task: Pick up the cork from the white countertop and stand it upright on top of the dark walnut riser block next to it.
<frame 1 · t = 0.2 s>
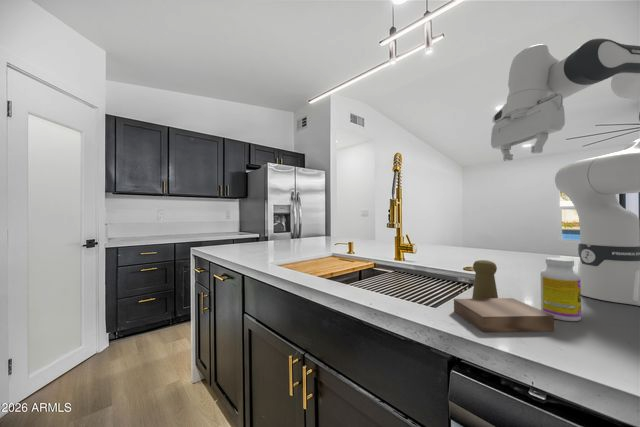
hand: (521, 157, 72), 39 cm above the counter, tool pointing down, fingers open, 8 cm apart
supplement bottle: (560, 317, 59), on the counter
walnut riser: (499, 320, 57), on the counter
cork: (485, 304, 68), on the counter
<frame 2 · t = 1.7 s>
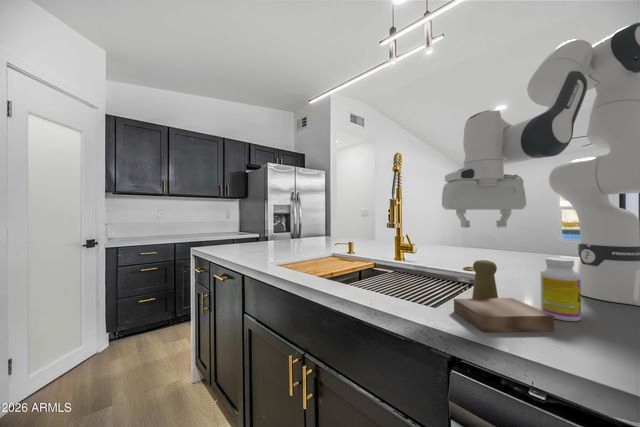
hand: (483, 227, 68), 20 cm above the counter, tool pointing down, fingers open, 8 cm apart
nothing on the counter moved.
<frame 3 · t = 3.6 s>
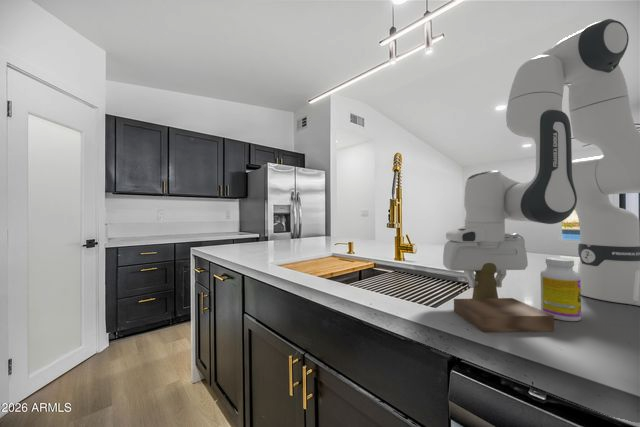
hand: (485, 287, 68), 4 cm above the counter, tool pointing down, fingers closed on cork, 5 cm apart
cork: (485, 304, 68), on the counter, touching gripper
everything else where it was.
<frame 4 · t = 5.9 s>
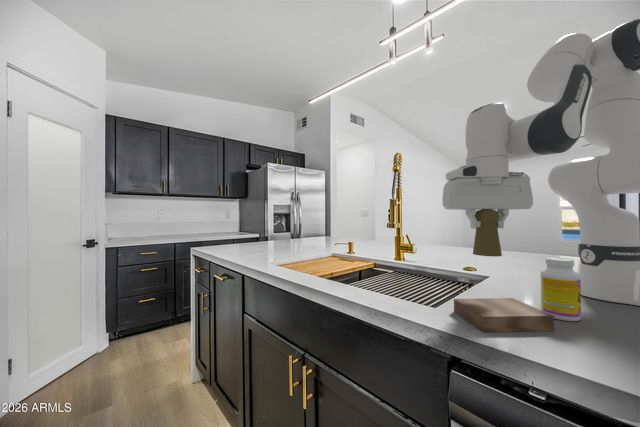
hand: (487, 228, 64), 20 cm above the counter, tool pointing down, fingers closed on cork, 4 cm apart
cork: (487, 255, 64), point 13 cm above the counter, touching gripper
everything else where it was.
when the fingers open (10 cm above the counter, at t = 8.1 s): cork stays where it is, resting on walnut riser.
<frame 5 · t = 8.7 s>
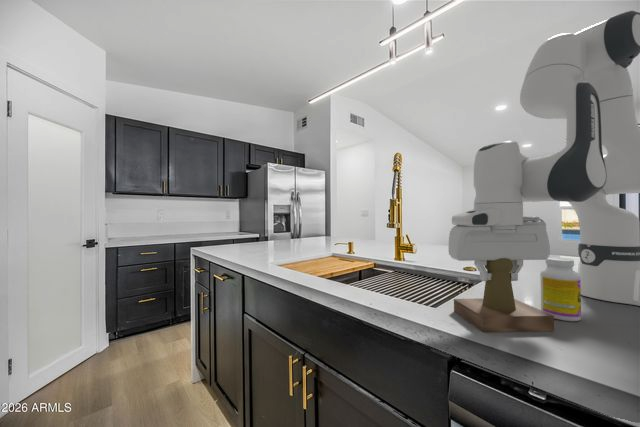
hand: (498, 280, 57), 9 cm above the counter, tool pointing down, fingers open, 4 cm apart
cork: (498, 307, 57), point 3 cm above the counter, touching gripper, walnut riser
everything else where it was.
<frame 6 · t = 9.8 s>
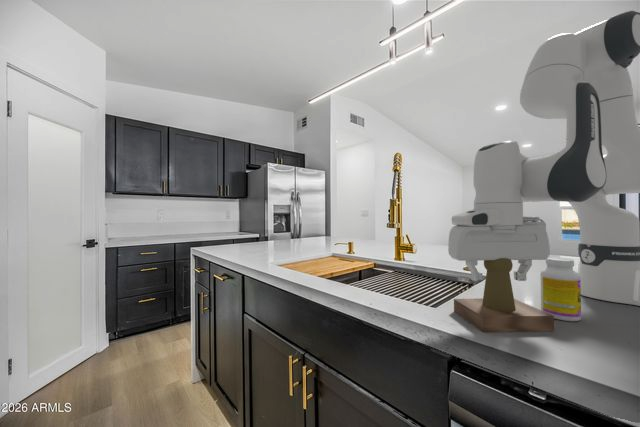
hand: (498, 280, 57), 9 cm above the counter, tool pointing down, fingers open, 8 cm apart
cork: (498, 307, 57), point 3 cm above the counter, touching walnut riser
everything else where it was.
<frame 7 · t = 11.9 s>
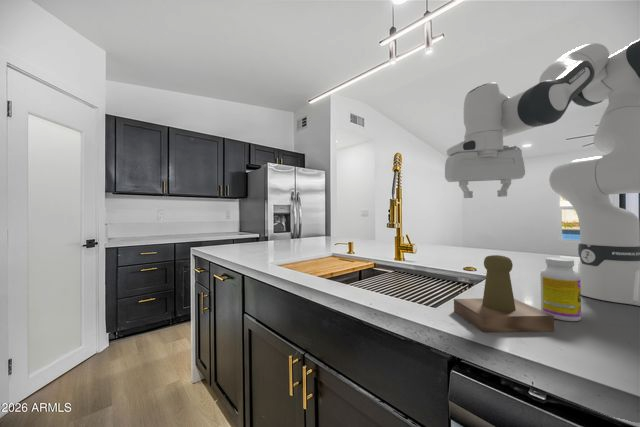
hand: (485, 197, 71), 28 cm above the counter, tool pointing down, fingers open, 8 cm apart
nothing on the counter moved.
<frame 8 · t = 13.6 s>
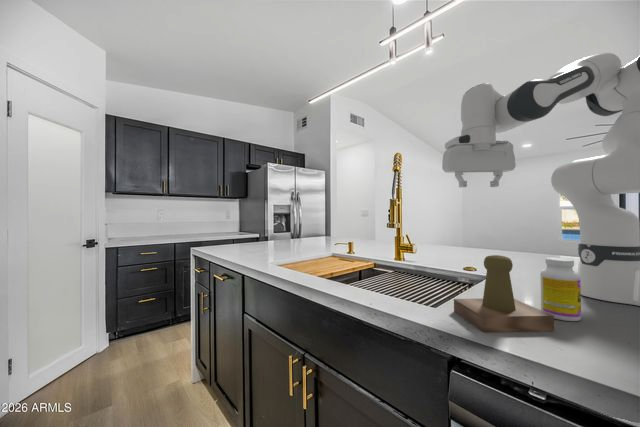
hand: (478, 187, 78), 31 cm above the counter, tool pointing down, fingers open, 8 cm apart
nothing on the counter moved.
at the end: cork inside the target area on the walnut riser (0.1 cm from its centre), point 2.8 cm above the walnut riser's base; cork tilted 0°; the gripper is holding nothing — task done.
